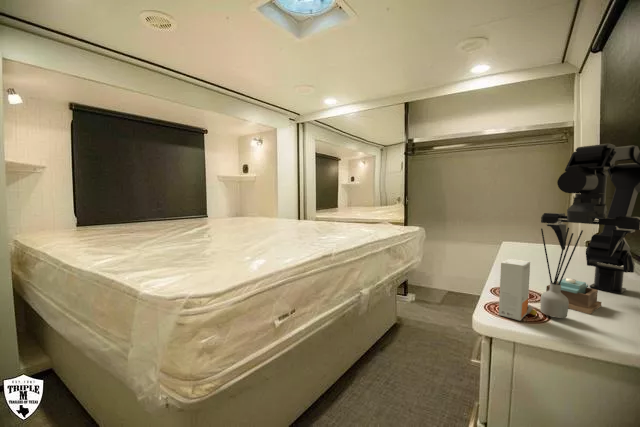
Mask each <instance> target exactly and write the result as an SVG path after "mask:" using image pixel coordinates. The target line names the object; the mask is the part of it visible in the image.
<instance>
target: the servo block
mask: <svg viewBox="0 0 640 427" xmlns="http://www.w3.org/2000/svg"><path fill="white" fill-rule="evenodd" d="M557 281H558V283H559V281H560V280H557ZM560 284H561V290H564V291H568V292H572V293H576V294H577V293H583V294H585V290H586V288H589V284H587V282H586V281H582V280H581V281H579V280H576V279H574V278H570V277H569V278H568V277H567V278H562V281H561V283H560Z"/></svg>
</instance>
